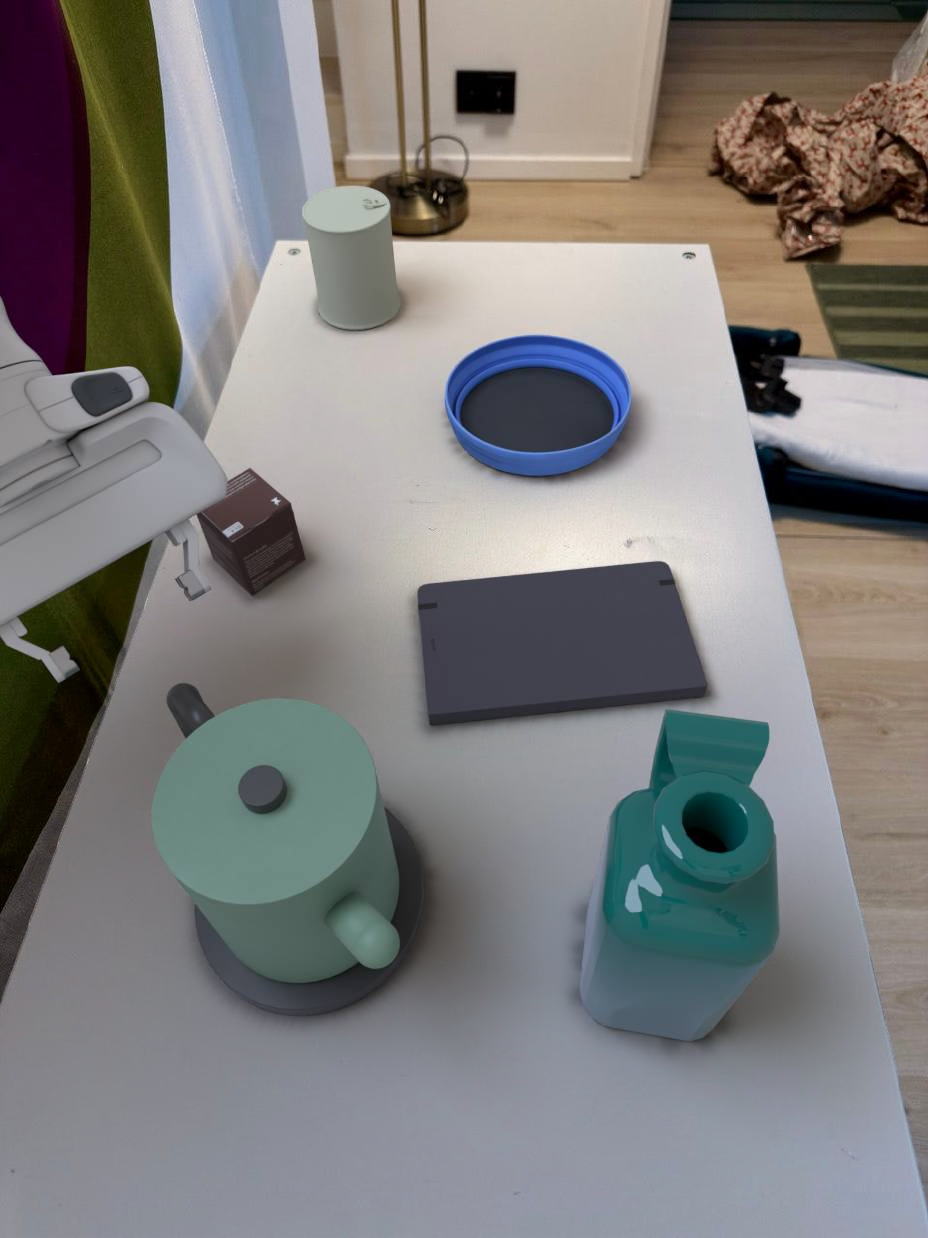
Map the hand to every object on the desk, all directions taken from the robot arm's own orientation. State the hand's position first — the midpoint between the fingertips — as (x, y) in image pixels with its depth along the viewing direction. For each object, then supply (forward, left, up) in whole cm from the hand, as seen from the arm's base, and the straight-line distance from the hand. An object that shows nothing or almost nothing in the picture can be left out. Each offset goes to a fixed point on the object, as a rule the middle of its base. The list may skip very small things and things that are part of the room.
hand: (137, 634), depth 57 cm
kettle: (+8, -14, -12) cm, 20 cm away
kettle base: (+8, -14, -14) cm, 21 cm away
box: (+6, +17, -14) cm, 23 cm away
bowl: (+34, +30, -14) cm, 47 cm away
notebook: (+29, +3, -14) cm, 32 cm away
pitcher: (+29, -22, -14) cm, 39 cm away
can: (+19, +53, -14) cm, 58 cm away
